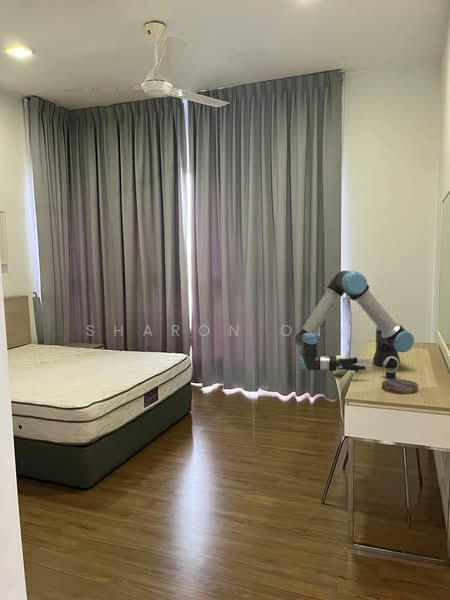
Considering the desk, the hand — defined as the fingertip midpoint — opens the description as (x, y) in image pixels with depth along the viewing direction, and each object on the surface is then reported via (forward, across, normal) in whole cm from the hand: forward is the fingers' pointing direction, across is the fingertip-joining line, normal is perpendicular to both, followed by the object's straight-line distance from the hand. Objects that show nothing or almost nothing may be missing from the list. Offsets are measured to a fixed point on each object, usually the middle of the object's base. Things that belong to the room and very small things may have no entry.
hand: (371, 364), depth 246 cm
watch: (+10, 0, -7) cm, 12 cm away
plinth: (+12, +20, -6) cm, 24 cm away
